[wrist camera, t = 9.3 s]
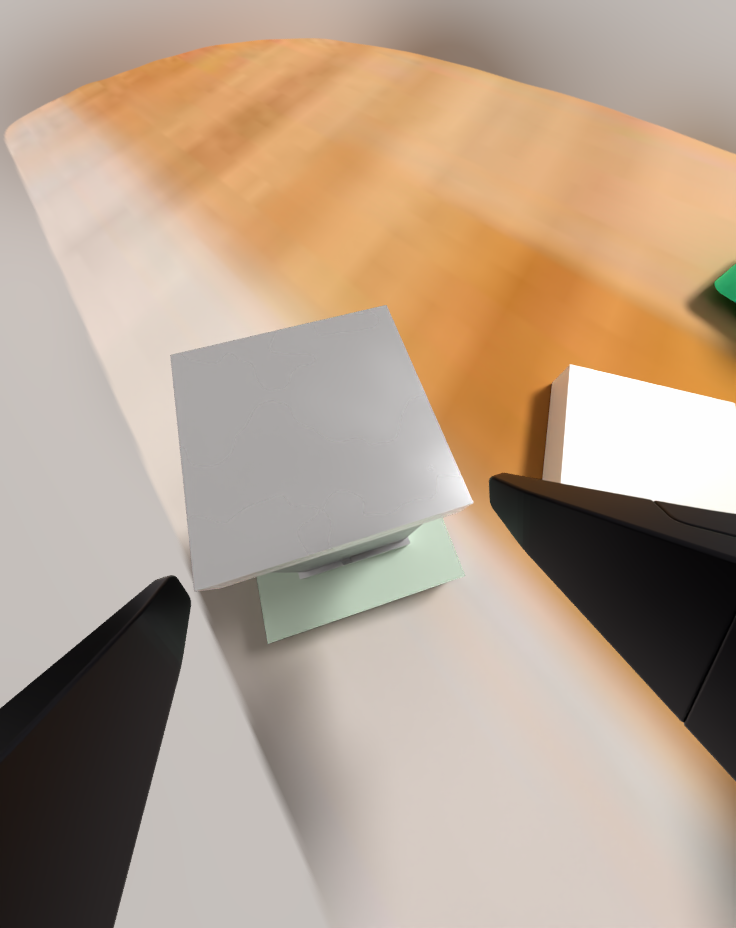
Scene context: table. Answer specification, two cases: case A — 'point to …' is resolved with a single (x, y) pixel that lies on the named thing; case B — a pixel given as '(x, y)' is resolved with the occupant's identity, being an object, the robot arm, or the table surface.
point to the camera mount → (727, 284)
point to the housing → (307, 450)
